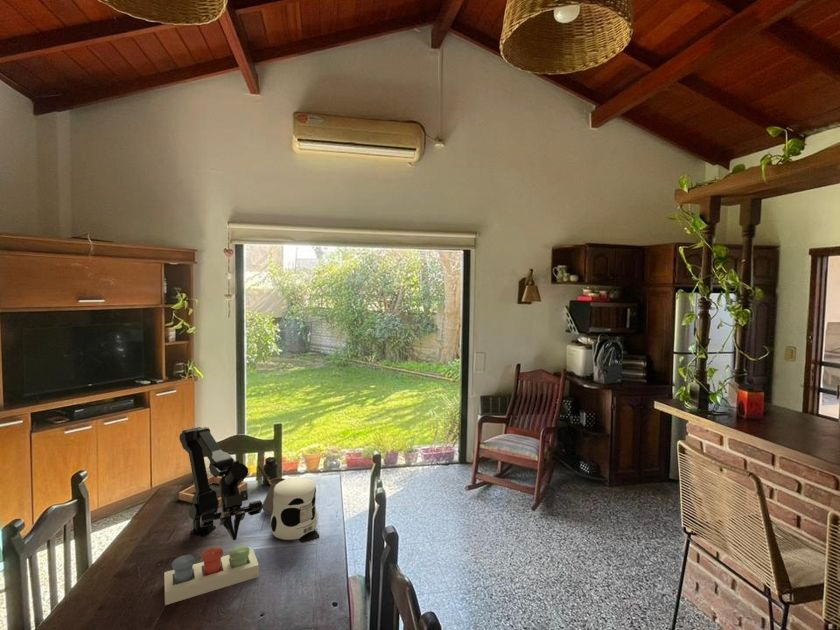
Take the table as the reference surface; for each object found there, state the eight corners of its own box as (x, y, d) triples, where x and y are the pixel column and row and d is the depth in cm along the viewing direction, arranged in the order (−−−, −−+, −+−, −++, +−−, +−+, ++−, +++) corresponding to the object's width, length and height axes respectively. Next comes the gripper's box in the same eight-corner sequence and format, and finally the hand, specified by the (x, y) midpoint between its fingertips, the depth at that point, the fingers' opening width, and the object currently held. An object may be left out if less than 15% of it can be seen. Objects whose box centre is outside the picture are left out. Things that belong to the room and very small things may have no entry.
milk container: (279, 518, 174) (280, 475, 172) (322, 520, 173) (323, 477, 172) (263, 544, 156) (263, 496, 155) (310, 546, 156) (311, 498, 155)
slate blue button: (172, 577, 133) (172, 558, 133) (193, 571, 136) (193, 552, 136) (172, 588, 128) (172, 569, 128) (195, 582, 131) (195, 563, 131)
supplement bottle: (263, 487, 199) (263, 462, 199) (261, 481, 205) (261, 457, 205) (278, 485, 203) (279, 460, 202) (276, 479, 209) (276, 455, 208)
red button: (200, 569, 137) (201, 550, 137) (221, 563, 140) (221, 545, 140) (202, 580, 132) (202, 561, 132) (224, 574, 135) (224, 555, 135)
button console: (164, 584, 134) (164, 572, 134) (252, 559, 147) (252, 548, 147) (164, 605, 125) (164, 592, 125) (258, 576, 139) (258, 564, 139)
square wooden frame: (178, 499, 186) (178, 492, 186) (212, 481, 204) (212, 475, 204) (215, 508, 180) (215, 501, 180) (247, 488, 198) (247, 482, 198)
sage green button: (228, 566, 141) (228, 549, 141) (247, 561, 145) (247, 544, 144) (230, 577, 136) (230, 559, 136) (250, 571, 140) (251, 553, 139)
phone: (307, 518, 174) (320, 536, 162) (307, 520, 174) (320, 538, 162) (289, 523, 170) (301, 542, 158) (288, 525, 170) (301, 544, 158)
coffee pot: (296, 511, 180) (297, 476, 179) (271, 521, 171) (271, 485, 170) (269, 494, 194) (269, 461, 193) (244, 503, 185) (245, 469, 184)
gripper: (201, 489, 138) (204, 540, 129) (262, 477, 148) (269, 524, 139) (198, 502, 145) (201, 551, 136) (256, 490, 155) (263, 535, 146)
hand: (234, 540), depth 139 cm, fingers closed
